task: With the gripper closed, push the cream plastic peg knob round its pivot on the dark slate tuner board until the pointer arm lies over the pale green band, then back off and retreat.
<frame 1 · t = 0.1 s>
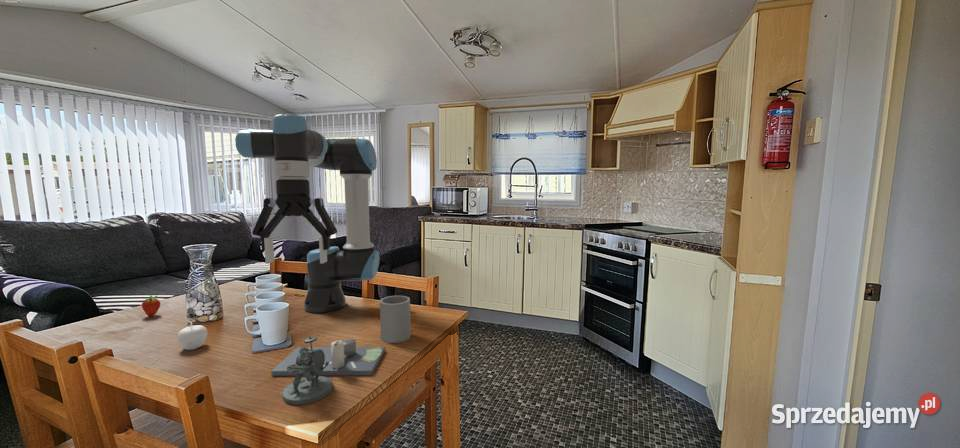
hand: (296, 262, 96), 28 cm above the table, fingers open, 13 cm apart
grey and white piece: (343, 347, 100), point 5 cm above the table, hinge at 0.0°
tuner board: (332, 362, 102), on the table
plain white apple: (193, 348, 111), on the table
figurine: (308, 392, 87), on the table
fruit: (152, 316, 138), on the table
cup: (395, 337, 119), on the table
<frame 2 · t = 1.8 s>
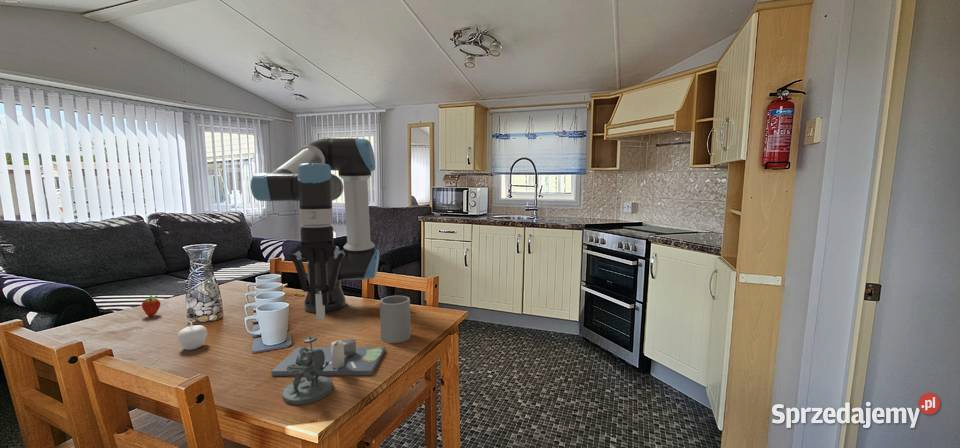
hand: (320, 317, 97), 14 cm above the table, fingers closed
nothing on the table moved.
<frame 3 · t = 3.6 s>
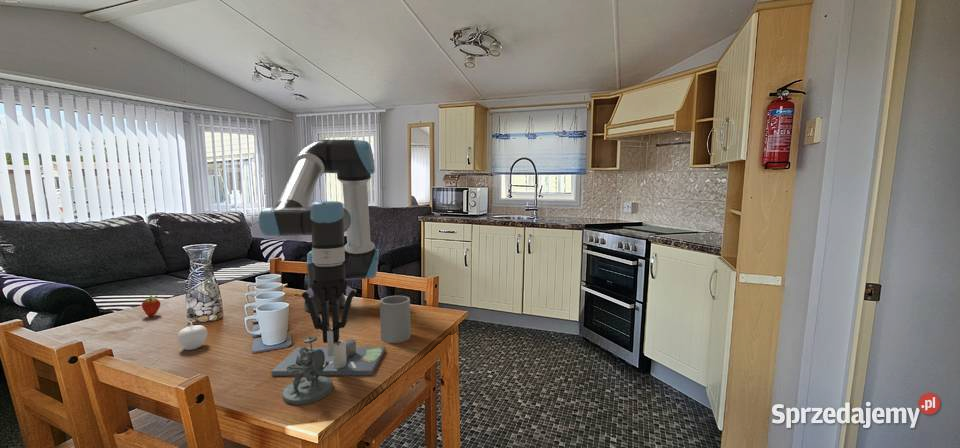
hand: (331, 353, 97), 4 cm above the table, fingers closed
grey and white piece: (344, 347, 100), point 5 cm above the table, hinge at 4.2°, touching gripper
everything else where it was.
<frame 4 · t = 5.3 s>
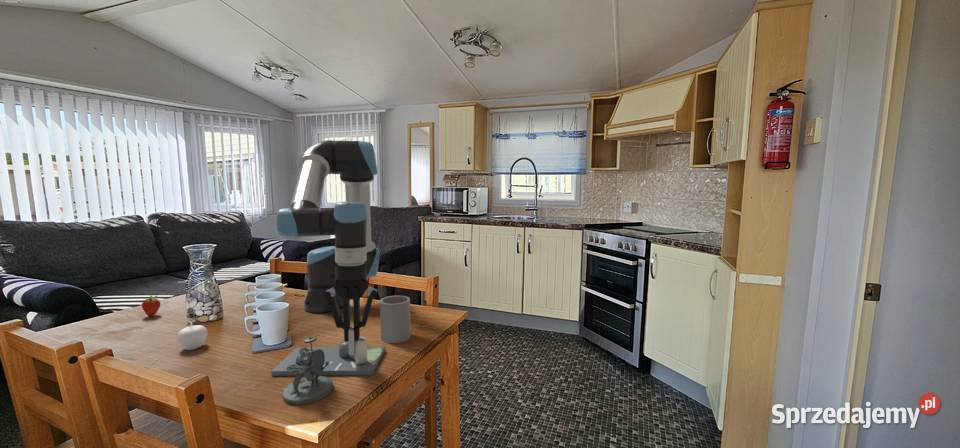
hand: (352, 352, 98), 4 cm above the table, fingers closed
grey and white piece: (353, 345, 101), point 5 cm above the table, hinge at 48.1°, touching gripper
everything else where it was.
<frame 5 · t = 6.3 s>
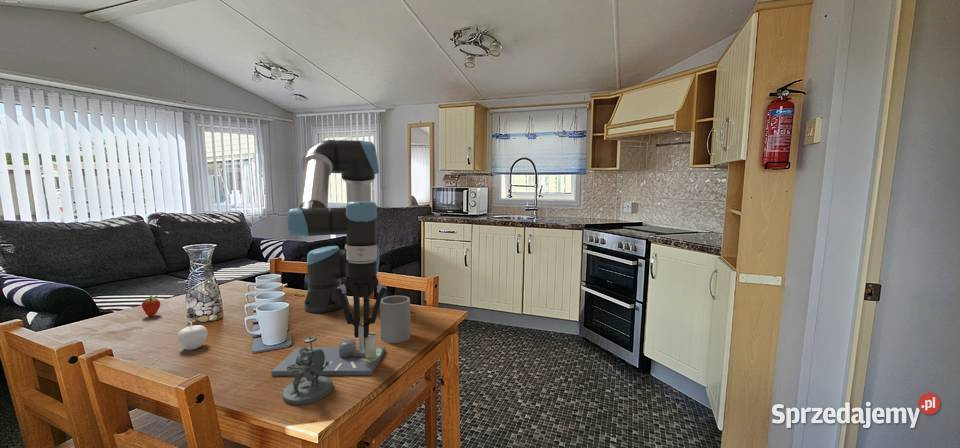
hand: (361, 348, 100), 4 cm above the table, fingers closed
grey and white piece: (357, 343, 102), point 5 cm above the table, hinge at 76.7°, touching gripper
everything else where it was.
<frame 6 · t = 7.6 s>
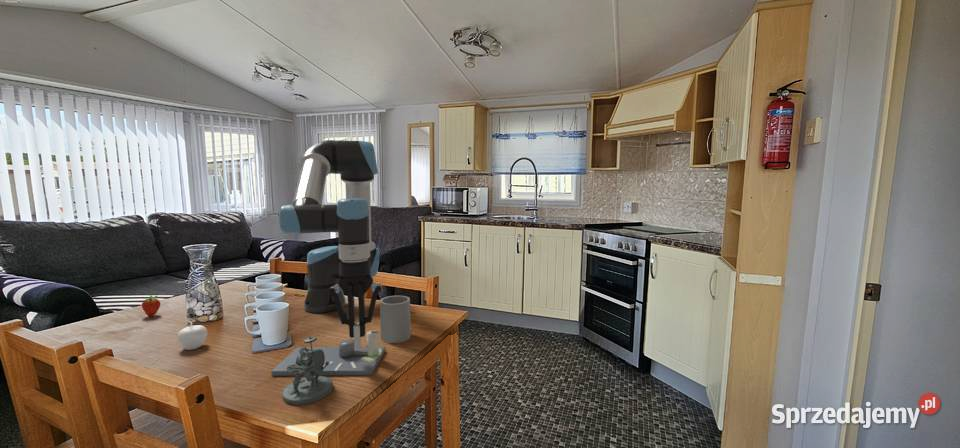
hand: (358, 348, 98), 5 cm above the table, fingers closed
grey and white piece: (358, 342, 103), point 5 cm above the table, hinge at 88.0°
everything else where it was.
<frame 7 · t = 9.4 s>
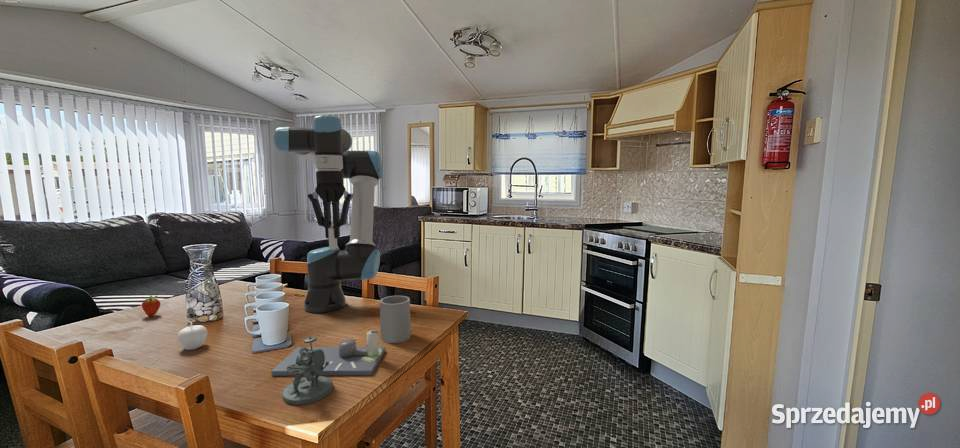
hand: (333, 248, 114), 28 cm above the table, fingers closed
nothing on the table moved.
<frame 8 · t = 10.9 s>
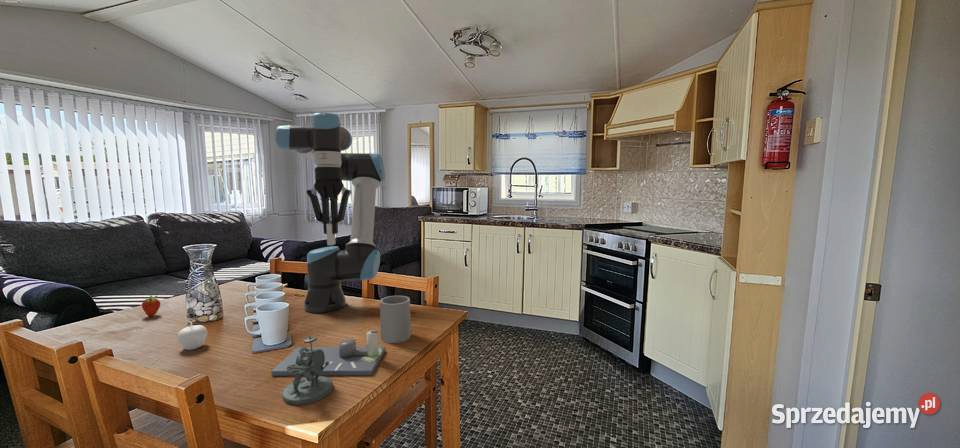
hand: (331, 244, 115), 29 cm above the table, fingers closed
nothing on the table moved.
at the end: grey and white piece at +88° (first picture: +0°); grey and white piece touching nothing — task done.
